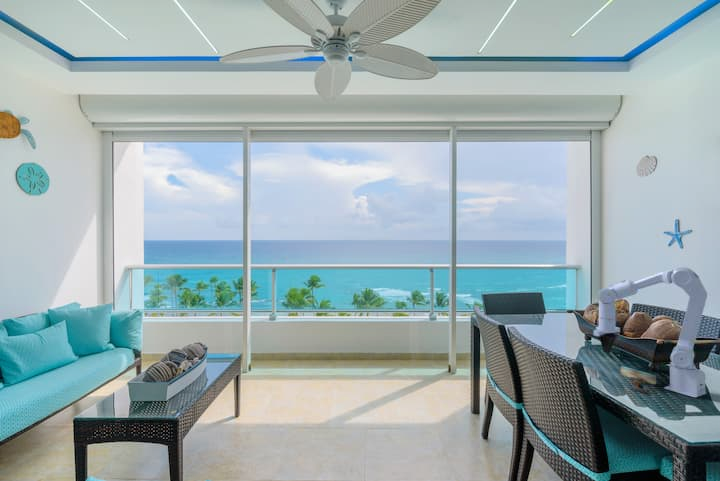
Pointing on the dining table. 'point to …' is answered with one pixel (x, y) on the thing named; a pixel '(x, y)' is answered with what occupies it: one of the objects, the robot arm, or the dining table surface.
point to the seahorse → (637, 383)
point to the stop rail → (638, 375)
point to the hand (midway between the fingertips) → (606, 352)
